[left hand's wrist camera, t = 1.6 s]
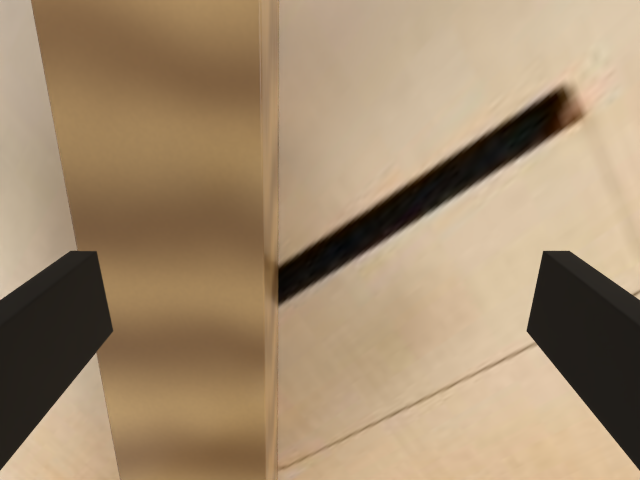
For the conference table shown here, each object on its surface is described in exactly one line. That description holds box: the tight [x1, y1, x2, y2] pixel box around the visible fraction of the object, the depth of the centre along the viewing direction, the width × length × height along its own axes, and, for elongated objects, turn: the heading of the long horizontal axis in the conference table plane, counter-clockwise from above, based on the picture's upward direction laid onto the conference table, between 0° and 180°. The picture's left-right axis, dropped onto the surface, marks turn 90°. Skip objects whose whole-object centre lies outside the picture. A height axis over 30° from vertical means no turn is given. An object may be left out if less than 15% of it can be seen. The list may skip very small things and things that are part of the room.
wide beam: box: [31, 0, 279, 480], centre depth 28 cm, size 52×9×8 cm, turn 178°
